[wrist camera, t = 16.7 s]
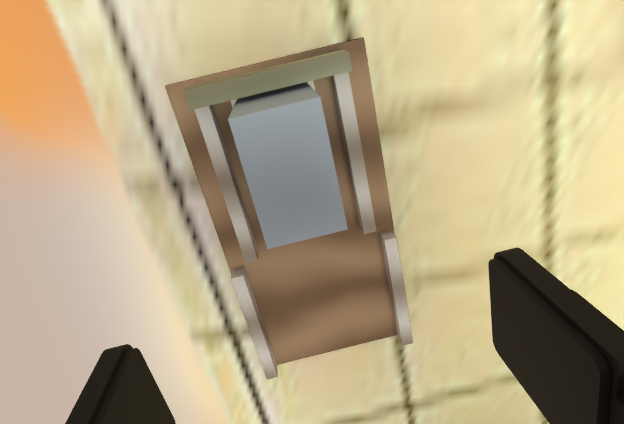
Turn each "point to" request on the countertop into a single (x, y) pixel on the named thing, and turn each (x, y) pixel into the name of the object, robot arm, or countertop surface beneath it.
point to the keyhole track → (316, 251)
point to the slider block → (288, 164)
